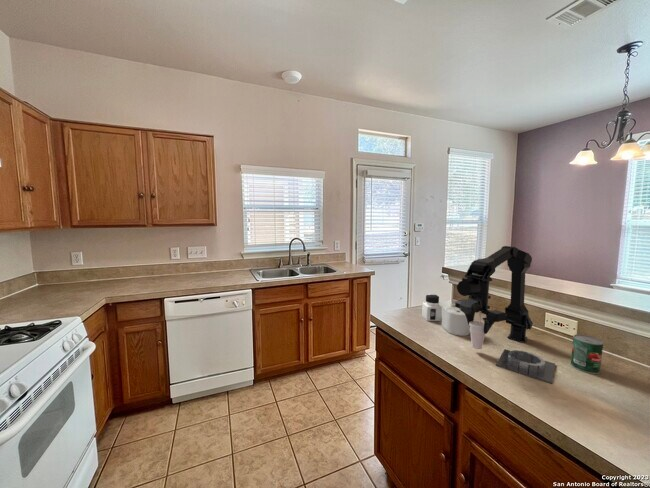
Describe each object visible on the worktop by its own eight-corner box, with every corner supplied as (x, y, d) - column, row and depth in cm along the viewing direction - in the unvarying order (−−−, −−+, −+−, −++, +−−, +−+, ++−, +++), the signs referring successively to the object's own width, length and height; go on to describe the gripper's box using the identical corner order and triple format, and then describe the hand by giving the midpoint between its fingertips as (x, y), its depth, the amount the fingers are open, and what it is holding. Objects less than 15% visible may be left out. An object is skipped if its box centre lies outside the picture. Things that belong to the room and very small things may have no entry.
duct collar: (504, 350, 112) (505, 343, 111) (555, 364, 101) (556, 357, 100) (495, 365, 100) (496, 357, 100) (551, 384, 89) (552, 375, 89)
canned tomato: (571, 359, 104) (573, 332, 103) (600, 368, 99) (603, 339, 98) (569, 367, 99) (572, 339, 98) (600, 376, 93) (603, 346, 92)
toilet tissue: (471, 337, 123) (473, 316, 122) (443, 333, 127) (444, 313, 126) (467, 328, 133) (468, 308, 132) (441, 325, 137) (442, 306, 136)
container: (441, 321, 142) (442, 297, 141) (426, 321, 142) (427, 297, 141) (435, 315, 150) (436, 293, 149) (421, 315, 150) (422, 292, 149)
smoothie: (488, 351, 106) (490, 317, 104) (470, 350, 107) (472, 315, 106) (482, 344, 112) (484, 311, 111) (465, 342, 113) (467, 310, 112)
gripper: (446, 288, 113) (444, 324, 114) (487, 301, 96) (484, 343, 97) (465, 286, 117) (463, 320, 119) (508, 298, 100) (505, 338, 101)
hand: (477, 330), depth 109 cm, fingers closed on smoothie, 6 cm apart
